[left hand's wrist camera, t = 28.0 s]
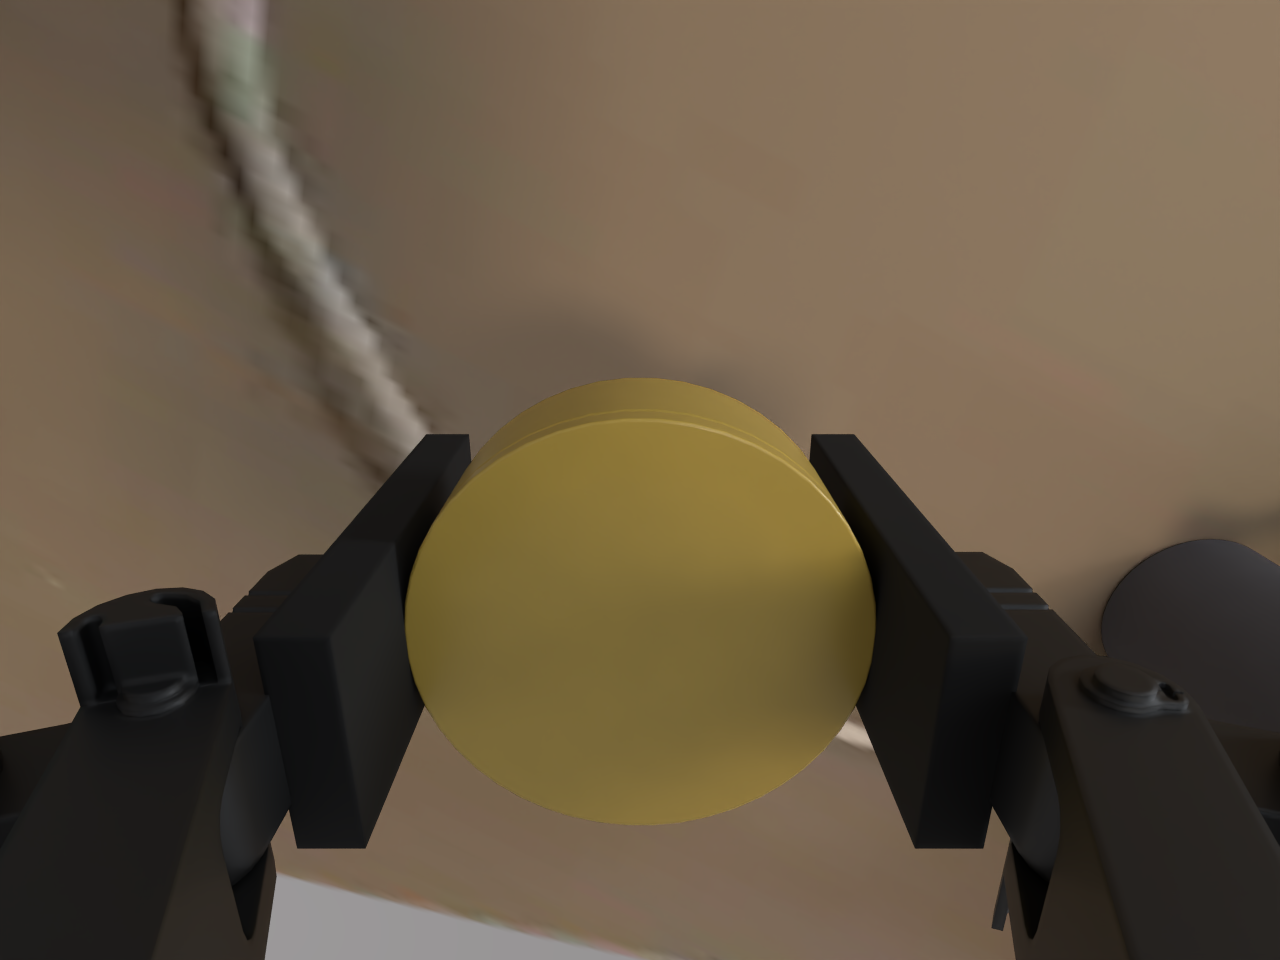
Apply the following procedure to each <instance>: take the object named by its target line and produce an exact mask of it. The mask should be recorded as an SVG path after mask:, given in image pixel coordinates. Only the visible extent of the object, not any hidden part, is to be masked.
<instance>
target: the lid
mask: <svg viewBox="0 0 1280 960" xmlns="http://www.w3.org/2000/svg"><path fill="white" fill-rule="evenodd" d="M404 623H405V635H406V642H407V650H408V658H409V664H410V667H411V671H412V674H413V678H414V681H415V684H416V686H417V689H418V691H419V693H420V695H421V698H422V700H423V702H424V704H425V707H426V708H427V710H428V711H429V713H430V715H431V716H432V718H433V720H434V721H435V723H436V724H437V726H438V728H439V729H440V730H441V732H442V733H443V734H444V735H445V736H446V738H447V739H448V740H449V741H450V743H451V744H452V745H453V746H454V747H455V749H456V750H457V751H458V752H459V753H460V754H461V755H462V756H464V757H465V758H466V759H467V760H468V761H469V762H470V763H471V764H472V765H473V766H474V767H475V768H476V769H478V770H479V771H480V772H482V773H483V774H484V775H486V776H487V777H488V778H490V779H491V780H493V781H494V782H495V783H497V784H498V785H500V786H502V787H503V788H505V789H507V790H508V791H510V792H512V793H514V794H515V795H517V796H519V797H521V798H523V799H525V800H527V801H530V802H532V803H534V804H536V805H539V806H541V807H543V808H546V809H549V810H552V811H555V812H558V813H561V814H564V815H568V816H571V817H575V818H580V819H585V820H589V821H594V822H600V823H609V824H619V825H662V824H672V823H681V822H686V821H691V820H696V819H701V818H706V817H710V816H713V815H716V814H719V813H723V812H726V811H729V810H732V809H735V808H737V807H740V806H742V805H744V804H747V803H749V802H751V801H753V800H756V799H758V798H760V797H762V796H764V795H765V794H767V793H769V792H771V791H772V790H774V789H776V788H778V787H779V786H781V785H783V784H784V783H785V782H787V781H788V780H790V779H791V778H792V777H794V776H795V775H796V774H798V773H799V772H800V771H802V770H803V769H804V768H806V767H807V766H808V765H809V764H810V763H811V762H812V761H813V760H814V759H815V758H816V757H817V756H818V755H819V754H820V753H821V752H823V751H824V749H825V748H826V747H827V746H828V745H829V743H830V742H831V741H832V740H833V739H834V737H835V736H836V735H837V734H838V733H839V731H840V730H841V729H842V727H843V725H844V724H845V722H846V721H847V719H848V717H849V716H850V714H851V713H852V711H853V710H854V708H855V706H856V704H857V701H858V699H859V697H860V695H861V692H862V690H863V688H864V686H865V683H866V680H867V677H868V673H869V670H870V666H871V662H872V655H873V647H874V640H875V632H876V602H875V596H874V590H873V585H872V579H871V575H870V572H869V569H868V566H867V563H866V560H865V557H864V555H863V552H862V549H861V547H860V545H859V544H858V542H857V540H856V538H855V536H854V534H853V532H852V530H851V528H850V526H849V524H848V523H847V521H846V520H845V518H844V516H843V515H842V513H841V511H840V510H839V508H838V506H837V505H836V503H835V502H834V500H833V498H832V497H831V495H830V493H829V492H828V490H827V489H826V487H825V485H824V484H823V482H822V480H821V479H820V477H819V475H818V474H817V472H816V471H815V469H814V468H813V466H812V465H811V463H810V462H809V461H808V459H807V458H806V457H805V455H804V454H803V452H802V451H801V450H800V448H799V447H798V446H797V445H796V444H795V443H794V442H793V441H792V440H791V439H790V438H789V437H788V436H787V435H786V434H785V433H784V432H783V431H782V430H781V429H780V428H778V427H777V426H776V425H775V424H773V423H772V422H771V421H769V420H768V419H767V418H766V417H764V416H763V415H762V414H760V413H759V412H757V411H755V410H754V409H752V408H750V407H748V406H747V405H745V404H743V403H742V402H740V401H738V400H736V399H734V398H731V397H729V396H727V395H724V394H722V393H719V392H717V391H714V390H712V389H709V388H705V387H701V386H698V385H694V384H690V383H686V382H682V381H674V380H666V379H659V378H622V379H614V380H606V381H598V382H595V383H591V384H587V385H583V386H579V387H575V388H572V389H569V390H566V391H564V392H561V393H559V394H557V395H554V396H552V397H549V398H547V399H544V400H543V401H541V402H539V403H537V404H536V405H534V406H532V407H530V408H529V409H527V410H525V411H523V412H522V413H520V414H519V415H518V416H516V417H515V418H514V419H512V420H511V421H510V422H509V423H507V424H506V425H505V426H503V427H502V428H501V429H500V430H499V431H498V432H497V433H496V434H495V435H494V436H493V437H492V438H491V439H490V440H489V441H488V442H487V443H486V444H485V445H484V446H483V447H482V448H481V449H480V451H479V452H478V453H477V455H476V456H475V458H474V459H473V460H472V462H471V463H470V464H469V466H468V467H467V468H466V470H465V472H464V473H463V475H462V477H461V478H460V480H459V481H458V483H457V485H456V486H455V488H454V490H453V491H452V493H451V494H450V496H449V498H448V499H447V501H446V503H445V504H444V506H443V508H442V509H441V511H440V513H439V514H438V516H437V517H436V519H435V521H434V522H433V524H432V526H431V528H430V529H429V531H428V533H427V535H426V537H425V539H424V541H423V543H422V545H421V546H420V548H419V551H418V554H417V556H416V559H415V562H414V565H413V568H412V571H411V574H410V577H409V583H408V588H407V594H406V599H405V616H404Z"/></svg>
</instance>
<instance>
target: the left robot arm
mask: <svg viewBox="0 0 1280 960" xmlns="http://www.w3.org/2000/svg"><path fill="white" fill-rule="evenodd" d="M809 462H810V463H811V465H812V466H813V468H814V469H815V471H816V472H817V474H818V475H819V477H820V479H821V480H822V482H823V484H824V485H825V487H826V489H827V490H828V492H829V493H830V495H831V497H832V498H833V500H834V502H835V503H836V505H837V506H838V508H839V510H840V511H841V513H842V515H843V516H844V518H845V520H846V521H847V523H848V524H849V526H850V528H851V530H852V532H853V534H854V536H855V538H856V540H857V542H858V544H859V545H860V547H861V549H862V552H863V555H864V557H865V560H866V563H867V566H868V569H869V572H870V575H871V579H872V585H873V590H874V596H875V602H876V632H875V640H874V647H873V655H872V662H871V666H870V670H869V673H868V677H867V680H866V683H865V686H864V688H863V690H862V692H861V695H860V697H859V699H858V701H857V704H856V707H857V709H858V712H859V714H860V717H861V719H862V721H863V724H864V726H865V729H866V731H867V733H868V736H869V738H870V741H871V743H872V746H873V748H874V750H875V753H876V755H877V758H878V760H879V763H880V765H881V767H882V770H883V772H884V775H885V777H886V779H887V782H888V784H889V787H890V789H891V792H892V794H893V796H894V799H895V801H896V804H897V806H898V808H899V811H900V813H901V816H902V818H903V821H904V823H905V825H906V828H907V830H908V833H909V835H910V837H911V840H912V842H913V845H914V847H915V848H948V849H983V847H984V843H985V838H986V833H987V829H988V824H989V819H990V814H991V810H992V806H993V808H994V810H995V812H996V813H997V815H998V817H999V819H1000V821H1001V822H1002V824H1003V826H1004V828H1005V829H1006V831H1007V833H1008V835H1009V836H1010V838H1011V839H1010V843H1009V847H1008V852H1007V856H1006V861H1005V865H1004V869H1003V874H1002V878H1001V882H1000V887H999V891H998V896H997V900H996V904H995V909H994V915H993V922H992V928H993V929H997V930H1001V931H1003V928H1004V924H1005V920H1006V915H1007V913H1009V916H1010V923H1011V930H1012V937H1013V944H1014V951H1015V957H1016V960H1280V733H1278V732H1273V731H1267V730H1262V729H1257V728H1252V727H1246V726H1241V725H1236V724H1231V723H1225V722H1220V721H1215V720H1211V719H1207V718H1206V716H1205V714H1204V713H1203V711H1202V709H1201V707H1200V706H1199V705H1198V704H1197V702H1196V701H1195V700H1194V699H1193V698H1192V697H1191V696H1190V695H1189V693H1188V692H1187V691H1186V690H1185V689H1183V688H1182V687H1180V686H1179V685H1177V684H1176V683H1174V682H1173V681H1171V680H1169V679H1168V678H1166V677H1165V676H1163V675H1162V674H1159V673H1157V672H1154V671H1152V670H1150V669H1147V668H1145V667H1142V666H1140V665H1138V664H1135V663H1132V662H1128V661H1123V660H1119V659H1115V658H1111V657H1107V656H1097V655H1096V654H1095V653H1094V652H1093V651H1092V650H1091V649H1090V648H1089V647H1088V646H1087V645H1086V644H1085V643H1084V642H1083V641H1082V639H1081V638H1080V637H1079V636H1078V635H1077V634H1076V633H1075V632H1074V631H1073V630H1072V629H1071V628H1070V627H1069V626H1068V625H1067V624H1066V623H1065V622H1064V621H1063V620H1062V619H1061V618H1060V617H1059V616H1058V615H1057V614H1056V613H1055V612H1054V611H1053V610H1049V608H1048V604H1047V603H1046V602H1045V601H1044V600H1043V599H1042V598H1041V597H1040V596H1039V595H1038V594H1037V593H1033V592H1032V588H1031V587H1030V586H1029V585H1028V584H1027V583H1026V582H1025V581H1024V580H1023V579H1022V578H1021V577H1020V576H1019V575H1018V573H1017V572H1016V571H1015V570H1014V569H1012V568H1010V567H1009V566H1007V565H1005V564H1003V563H1001V562H999V561H998V560H996V559H994V558H992V557H990V556H989V555H987V554H985V553H983V552H954V550H953V549H952V548H951V547H950V546H949V545H948V543H947V542H946V541H945V540H944V539H943V538H942V536H941V535H940V534H939V533H938V532H937V531H936V529H935V528H934V527H933V526H932V525H931V524H930V522H929V521H928V520H927V519H926V518H925V517H924V515H923V514H922V513H921V512H920V511H919V510H918V508H917V507H916V506H915V505H914V504H913V503H912V501H911V500H910V499H909V498H908V497H907V496H906V494H905V493H904V492H903V491H902V490H901V489H900V487H899V486H898V485H897V484H896V483H895V482H894V480H893V479H892V478H891V477H890V476H889V474H888V473H887V472H886V471H885V470H884V469H883V467H882V466H881V465H880V464H879V463H878V462H877V460H876V459H875V458H874V457H873V456H872V455H871V453H870V452H869V451H868V450H867V449H866V448H865V446H864V445H863V444H862V443H861V442H860V441H859V439H858V438H857V437H856V436H855V435H854V434H812V436H811V448H810V460H809ZM470 463H471V454H470V442H469V434H426V435H425V437H424V438H423V439H422V440H421V441H420V442H419V444H418V445H417V446H416V447H415V448H414V449H413V451H412V452H411V453H410V454H409V455H408V456H407V458H406V459H405V460H404V461H403V462H402V463H401V465H400V466H399V467H398V468H397V469H396V470H395V472H394V473H393V474H392V475H391V476H390V477H389V479H388V480H387V481H386V482H385V483H384V484H383V486H382V487H381V488H380V489H379V490H378V491H377V493H376V494H375V495H374V496H373V497H372V498H371V500H370V501H369V502H368V503H367V504H366V506H365V507H364V508H363V509H362V510H361V511H360V513H359V514H358V515H357V516H356V517H355V518H354V520H353V521H352V522H351V523H350V524H349V525H348V527H347V528H346V529H345V530H344V531H343V532H342V534H341V535H340V536H339V537H338V538H337V539H336V541H335V542H334V543H333V544H332V545H331V546H330V548H329V549H328V550H327V551H326V552H325V553H324V555H297V556H295V557H294V558H292V559H290V560H288V561H286V562H284V563H283V564H281V565H279V566H277V567H275V568H274V569H272V570H270V571H268V572H267V573H266V574H265V575H264V576H263V577H262V578H261V579H260V580H259V581H258V583H257V584H256V585H255V586H254V587H253V588H252V589H251V590H250V591H249V596H244V597H243V598H242V599H241V600H240V601H239V602H238V603H237V604H236V605H235V606H234V607H233V612H232V613H228V614H227V615H226V616H225V617H224V618H223V619H222V620H221V621H220V619H219V615H218V610H217V606H216V601H215V599H214V598H213V597H212V596H210V595H209V594H207V593H206V592H204V591H201V590H195V589H189V588H183V587H182V588H163V589H153V590H148V591H144V592H139V593H134V594H129V595H125V596H122V597H120V598H117V599H114V600H111V601H108V602H105V603H102V604H100V605H97V606H95V607H93V608H92V609H90V610H88V611H86V612H84V613H82V614H80V615H79V616H77V617H75V618H73V619H72V620H71V621H70V622H69V623H68V624H67V625H65V626H64V627H63V628H62V629H61V630H60V631H59V632H58V633H57V634H58V637H59V640H60V643H61V647H62V650H63V653H64V656H65V659H66V662H67V665H68V669H69V672H70V675H71V678H72V681H73V684H74V687H75V691H76V694H77V697H78V700H79V703H80V706H81V707H80V709H79V711H78V712H77V714H76V716H75V718H74V720H73V721H72V723H68V724H64V725H59V726H53V727H48V728H43V729H38V730H32V731H27V732H22V733H17V734H11V735H6V736H1V737H0V960H265V953H266V946H267V939H268V932H269V925H270V918H271V911H272V904H273V897H274V890H275V883H276V877H277V876H276V868H275V861H274V856H273V852H272V847H271V843H270V842H271V840H272V838H273V836H274V835H275V833H276V831H277V829H278V827H279V826H280V824H281V822H282V820H283V819H284V817H285V815H286V813H287V811H288V810H289V812H290V817H291V821H292V826H293V831H294V836H295V840H296V845H297V848H366V846H367V844H368V841H369V839H370V836H371V834H372V831H373V829H374V827H375V824H376V822H377V819H378V817H379V815H380V812H381V810H382V807H383V805H384V802H385V800H386V798H387V795H388V793H389V790H390V788H391V785H392V783H393V781H394V778H395V776H396V773H397V771H398V769H399V766H400V764H401V761H402V759H403V756H404V754H405V752H406V749H407V747H408V744H409V742H410V740H411V737H412V735H413V732H414V730H415V727H416V725H417V723H418V720H419V718H420V715H421V713H422V710H423V708H424V706H425V704H424V702H423V700H422V698H421V695H420V693H419V691H418V689H417V686H416V684H415V681H414V678H413V674H412V671H411V667H410V664H409V658H408V650H407V642H406V635H405V623H404V616H405V599H406V594H407V588H408V583H409V577H410V574H411V571H412V568H413V565H414V562H415V559H416V556H417V554H418V551H419V548H420V546H421V545H422V543H423V541H424V539H425V537H426V535H427V533H428V531H429V529H430V528H431V526H432V524H433V522H434V521H435V519H436V517H437V516H438V514H439V513H440V511H441V509H442V508H443V506H444V504H445V503H446V501H447V499H448V498H449V496H450V494H451V493H452V491H453V490H454V488H455V486H456V485H457V483H458V481H459V480H460V478H461V477H462V475H463V473H464V472H465V470H466V468H467V467H468V466H469V464H470Z"/></svg>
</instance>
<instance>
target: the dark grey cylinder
mask: <svg viewBox="0 0 1280 960" xmlns="http://www.w3.org/2000/svg"><path fill="white" fill-rule="evenodd" d="M1101 633H1102V641H1103V645H1104V648H1105V651H1106V653H1107V655H1108V657H1111V658H1115V659H1119V660H1123V661H1128V662H1132V663H1135V664H1138V665H1140V666H1142V667H1145V668H1147V669H1150V670H1152V671H1154V672H1157V673H1159V674H1162V675H1163V676H1165V677H1166V678H1168V679H1169V680H1171V681H1173V682H1174V683H1176V684H1177V685H1179V686H1180V687H1182V688H1183V689H1185V690H1186V691H1187V692H1188V693H1189V695H1190V696H1191V697H1192V698H1193V699H1194V700H1195V701H1196V702H1197V704H1198V705H1199V706H1200V707H1201V709H1202V711H1203V713H1204V714H1205V716H1206V718H1207V719H1211V720H1215V721H1220V722H1225V723H1231V724H1236V725H1241V726H1246V727H1252V728H1257V729H1262V730H1267V731H1273V732H1278V733H1280V566H1278V565H1276V564H1275V563H1273V562H1272V561H1270V560H1268V559H1267V558H1265V557H1264V556H1262V555H1260V554H1259V553H1257V552H1255V551H1254V550H1252V549H1250V548H1248V547H1246V546H1244V545H1241V544H1239V543H1236V542H1231V541H1226V540H1215V539H1208V540H1196V541H1190V542H1186V543H1182V544H1178V545H1175V546H1173V547H1170V548H1167V549H1165V550H1163V551H1161V552H1159V553H1157V554H1155V555H1153V556H1151V557H1150V558H1148V559H1147V560H1145V561H1143V562H1142V563H1141V564H1140V565H1138V566H1137V567H1136V568H1134V569H1133V570H1132V571H1131V572H1130V573H1129V574H1128V575H1127V576H1126V577H1125V578H1124V579H1123V580H1122V582H1121V583H1120V584H1119V585H1118V586H1117V588H1116V589H1115V591H1114V592H1113V594H1112V596H1111V598H1110V599H1109V601H1108V603H1107V606H1106V609H1105V612H1104V615H1103V620H1102V630H1101Z"/></svg>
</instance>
